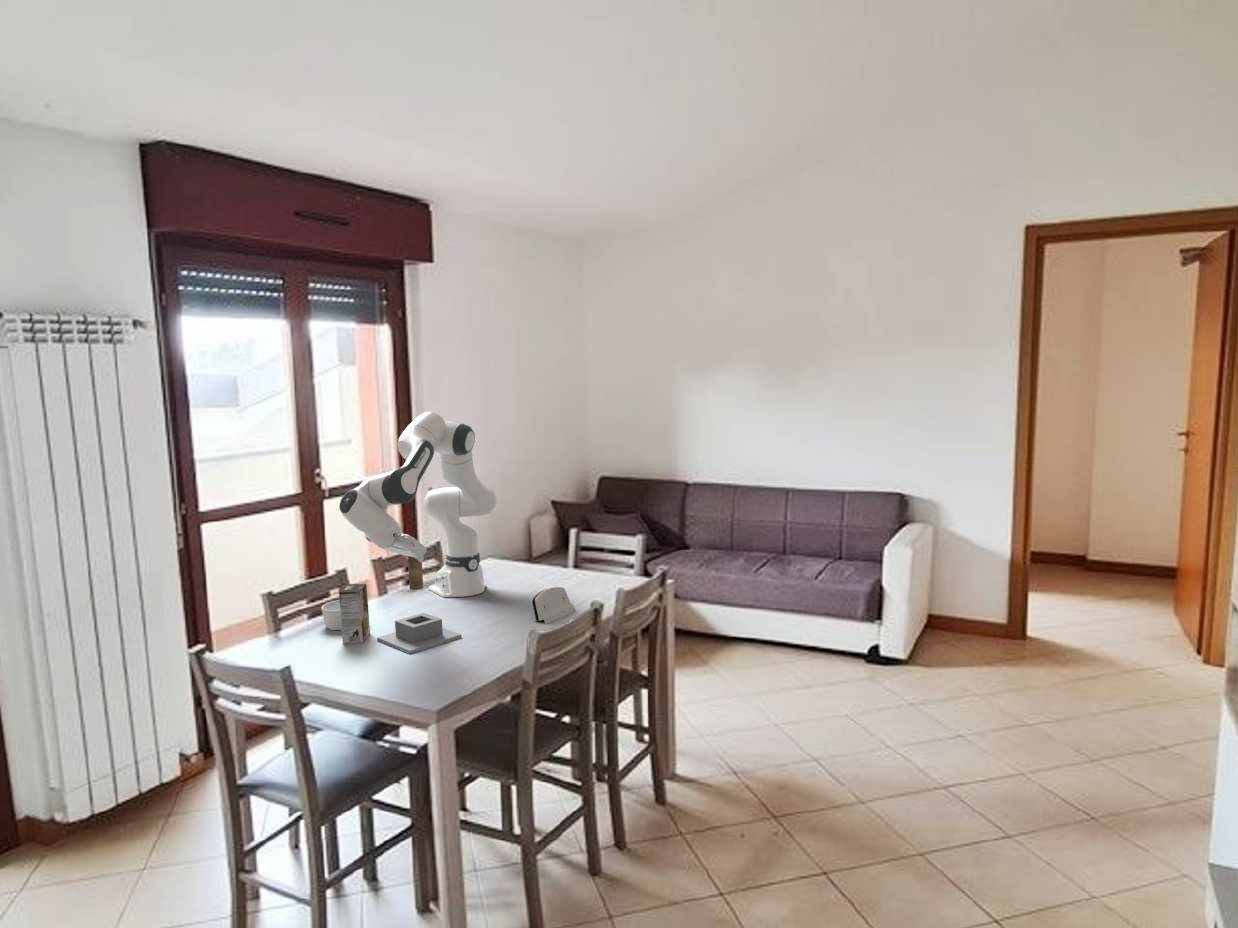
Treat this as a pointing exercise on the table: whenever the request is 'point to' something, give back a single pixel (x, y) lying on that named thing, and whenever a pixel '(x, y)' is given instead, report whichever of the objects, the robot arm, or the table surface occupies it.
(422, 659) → the table surface
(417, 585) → the pin
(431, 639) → the socket block
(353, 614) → the coffee box
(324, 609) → the ramekin
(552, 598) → the hinge
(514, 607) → the table surface
